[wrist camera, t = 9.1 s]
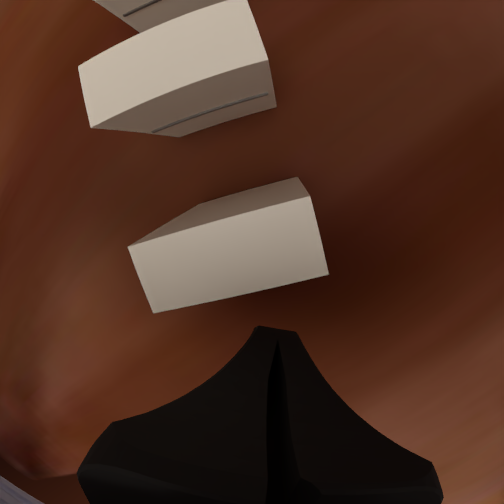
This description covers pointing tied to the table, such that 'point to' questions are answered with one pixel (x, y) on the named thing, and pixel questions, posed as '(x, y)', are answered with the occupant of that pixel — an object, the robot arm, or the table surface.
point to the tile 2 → (181, 74)
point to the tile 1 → (152, 10)
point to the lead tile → (231, 247)
